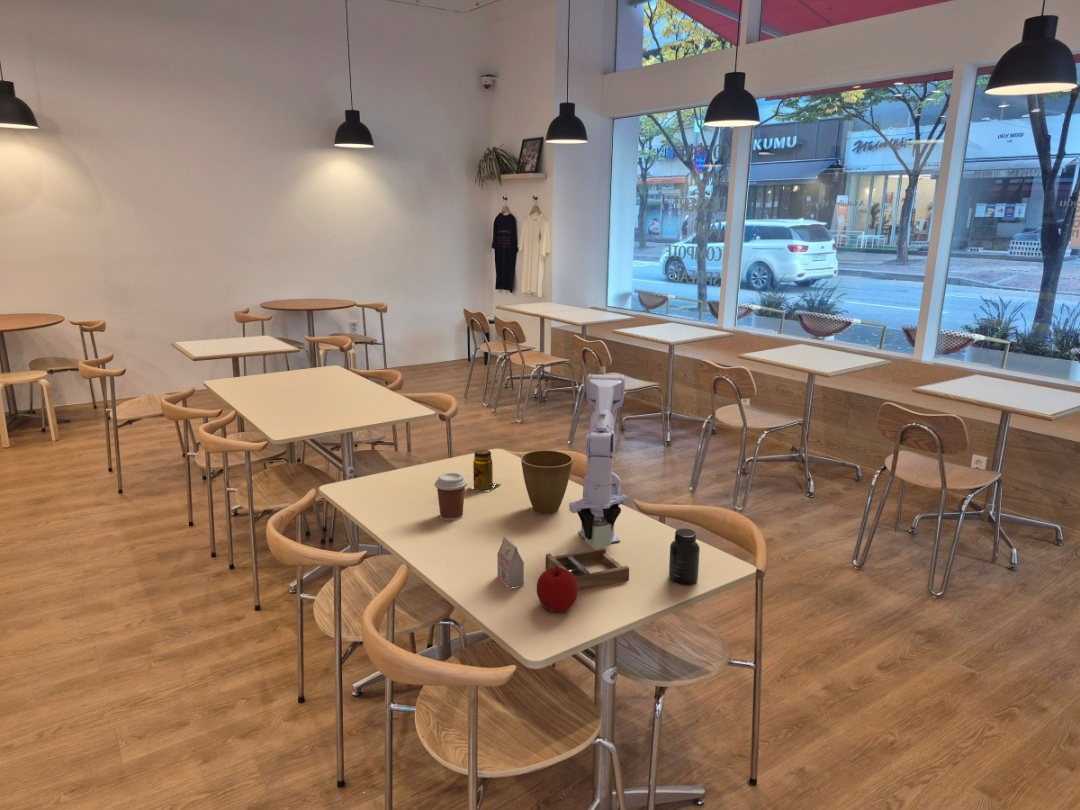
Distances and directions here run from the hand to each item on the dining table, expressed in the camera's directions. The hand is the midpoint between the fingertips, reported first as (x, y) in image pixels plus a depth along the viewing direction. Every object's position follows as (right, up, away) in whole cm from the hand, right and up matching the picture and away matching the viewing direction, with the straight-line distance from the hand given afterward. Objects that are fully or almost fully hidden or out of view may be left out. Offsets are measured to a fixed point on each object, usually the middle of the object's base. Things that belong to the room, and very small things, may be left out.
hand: (597, 536), depth 174 cm
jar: (0, -2, 0) cm, 2 cm away
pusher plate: (-6, -10, 0) cm, 12 cm away
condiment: (-31, +5, +59) cm, 67 cm away
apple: (-10, -13, -14) cm, 21 cm away
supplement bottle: (+20, -10, -1) cm, 23 cm away
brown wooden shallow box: (-3, -9, +1) cm, 10 cm away
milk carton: (-21, -10, -2) cm, 23 cm away
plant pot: (-12, 0, +41) cm, 42 cm away
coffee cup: (-39, -1, +35) cm, 53 cm away
